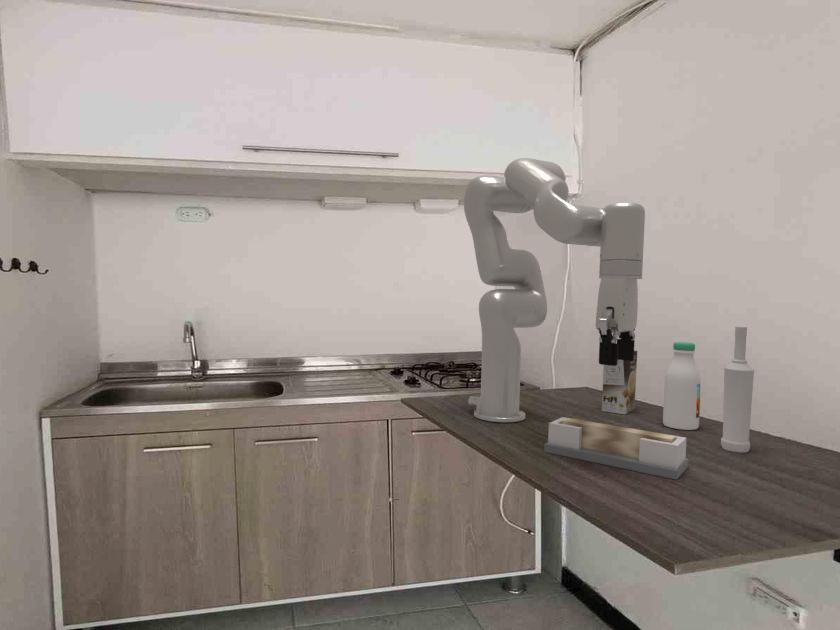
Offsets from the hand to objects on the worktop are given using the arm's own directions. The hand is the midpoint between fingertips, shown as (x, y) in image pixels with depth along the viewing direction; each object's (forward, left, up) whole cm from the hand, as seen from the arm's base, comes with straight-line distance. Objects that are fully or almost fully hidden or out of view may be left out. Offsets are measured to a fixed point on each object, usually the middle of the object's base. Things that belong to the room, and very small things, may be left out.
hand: (616, 362), depth 102 cm
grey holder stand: (0, 0, -18) cm, 18 cm away
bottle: (+17, +23, -19) cm, 34 cm away
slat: (+1, 0, -17) cm, 17 cm away
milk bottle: (+4, +36, -19) cm, 41 cm away
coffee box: (-13, +44, -19) cm, 50 cm away
